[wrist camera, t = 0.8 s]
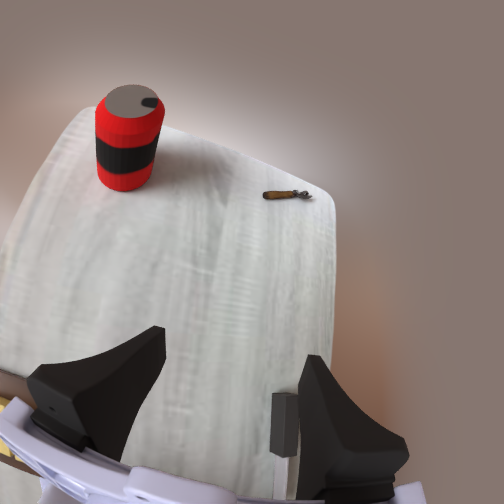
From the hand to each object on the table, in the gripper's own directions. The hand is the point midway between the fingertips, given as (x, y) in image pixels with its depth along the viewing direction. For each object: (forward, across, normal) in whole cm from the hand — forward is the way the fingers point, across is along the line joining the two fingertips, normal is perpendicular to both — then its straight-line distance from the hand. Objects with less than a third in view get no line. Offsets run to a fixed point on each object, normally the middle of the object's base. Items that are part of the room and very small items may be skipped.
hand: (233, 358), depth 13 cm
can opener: (+31, -5, -4) cm, 32 cm away
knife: (+9, -6, +22) cm, 25 cm away
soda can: (+22, +19, -7) cm, 30 cm away
